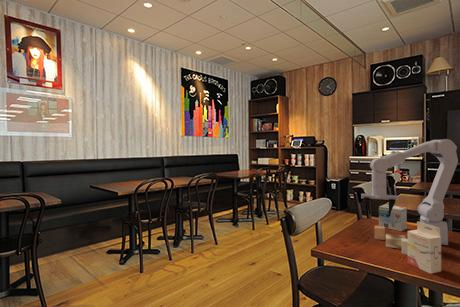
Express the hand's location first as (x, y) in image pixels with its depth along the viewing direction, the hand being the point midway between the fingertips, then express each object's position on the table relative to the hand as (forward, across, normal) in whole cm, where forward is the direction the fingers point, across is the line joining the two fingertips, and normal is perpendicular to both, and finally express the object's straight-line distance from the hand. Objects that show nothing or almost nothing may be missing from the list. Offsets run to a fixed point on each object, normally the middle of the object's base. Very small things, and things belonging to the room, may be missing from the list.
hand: (379, 215), depth 120 cm
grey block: (+10, +10, -14) cm, 20 cm away
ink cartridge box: (+11, +14, -26) cm, 31 cm away
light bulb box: (+11, +5, +20) cm, 23 cm away
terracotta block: (+10, 0, 0) cm, 10 cm away
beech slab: (+10, +6, -7) cm, 14 cm away
